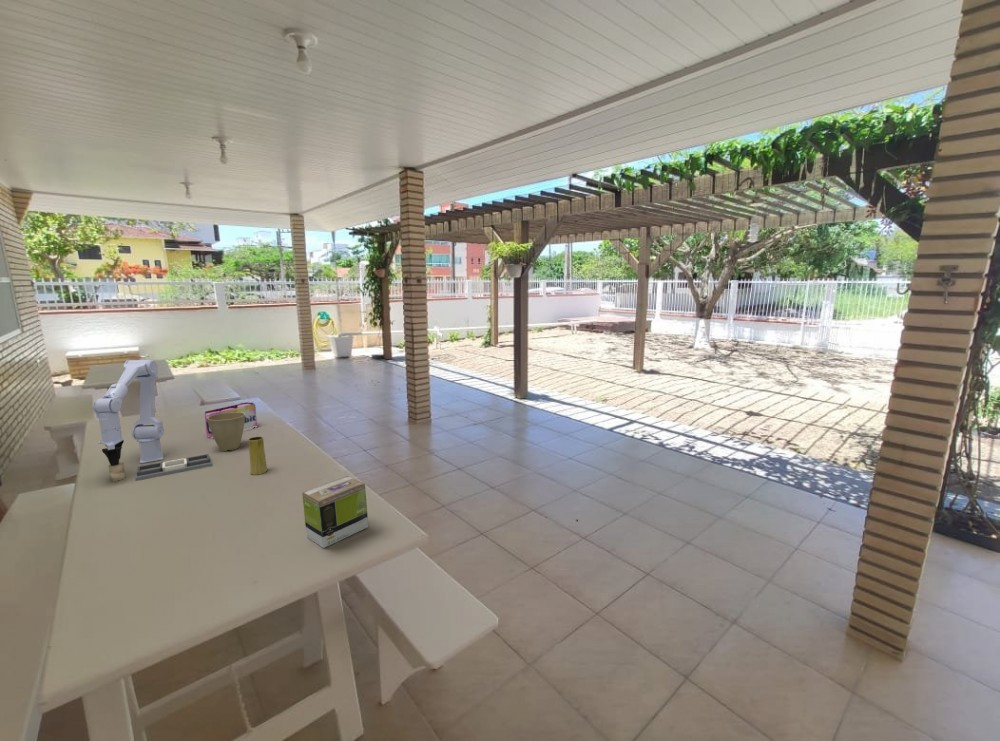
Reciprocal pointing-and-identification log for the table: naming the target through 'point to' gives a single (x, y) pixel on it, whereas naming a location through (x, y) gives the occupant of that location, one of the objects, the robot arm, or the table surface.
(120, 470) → the beech pin
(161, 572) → the table surface
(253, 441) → the vase
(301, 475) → the table surface
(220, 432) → the plant pot
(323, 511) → the tea box
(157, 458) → the robot arm
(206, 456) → the gray compartment tray
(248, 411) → the gum box
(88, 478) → the table surface
